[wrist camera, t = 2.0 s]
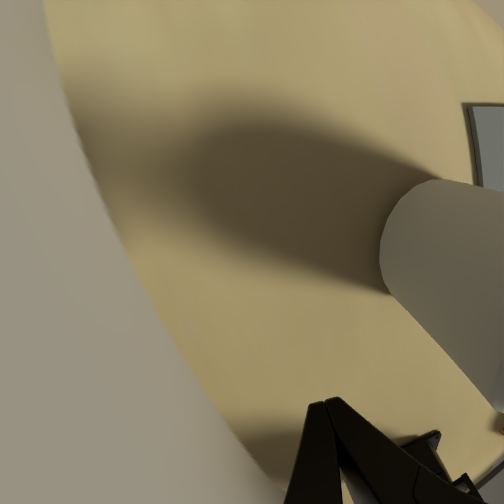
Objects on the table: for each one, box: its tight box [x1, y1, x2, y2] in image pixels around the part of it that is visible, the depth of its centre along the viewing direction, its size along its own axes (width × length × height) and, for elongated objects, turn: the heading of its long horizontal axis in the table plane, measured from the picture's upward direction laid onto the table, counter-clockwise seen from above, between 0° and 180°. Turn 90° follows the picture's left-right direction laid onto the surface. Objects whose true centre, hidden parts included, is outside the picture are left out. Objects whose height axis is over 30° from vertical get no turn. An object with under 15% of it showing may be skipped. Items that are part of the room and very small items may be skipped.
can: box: [379, 179, 504, 413], centre depth 10 cm, size 8×8×12 cm
